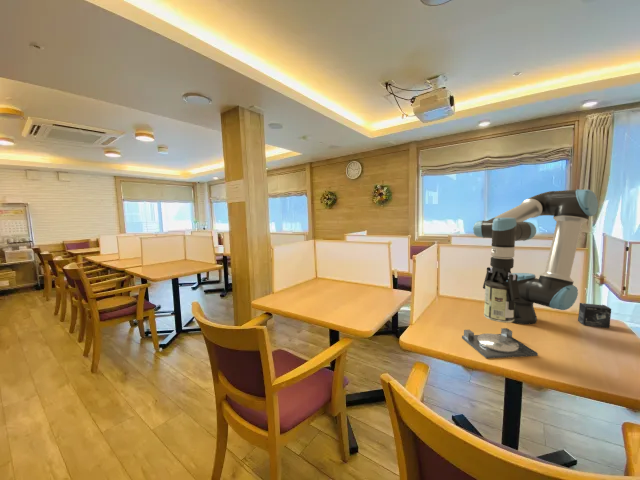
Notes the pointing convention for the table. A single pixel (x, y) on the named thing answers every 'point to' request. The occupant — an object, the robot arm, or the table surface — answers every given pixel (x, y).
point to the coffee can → (496, 302)
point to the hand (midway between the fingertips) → (498, 312)
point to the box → (594, 315)
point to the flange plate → (498, 344)
